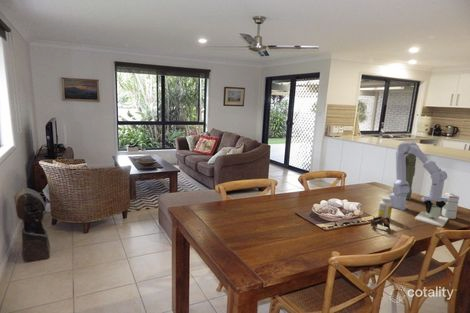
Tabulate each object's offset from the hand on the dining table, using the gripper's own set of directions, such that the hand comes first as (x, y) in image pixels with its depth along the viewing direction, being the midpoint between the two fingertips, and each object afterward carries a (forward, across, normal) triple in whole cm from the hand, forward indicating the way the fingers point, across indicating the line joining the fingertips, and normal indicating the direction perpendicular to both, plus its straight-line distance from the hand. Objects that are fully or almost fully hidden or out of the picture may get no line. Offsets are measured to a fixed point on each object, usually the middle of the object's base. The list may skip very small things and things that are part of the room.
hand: (432, 212), depth 171 cm
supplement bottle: (+5, -29, -1) cm, 29 cm away
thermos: (+5, +6, +40) cm, 41 cm away
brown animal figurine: (+5, -38, -16) cm, 42 cm away
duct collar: (+2, 0, 0) cm, 2 cm away
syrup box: (+5, +14, +6) cm, 16 cm away
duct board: (+4, 0, 0) cm, 4 cm away
